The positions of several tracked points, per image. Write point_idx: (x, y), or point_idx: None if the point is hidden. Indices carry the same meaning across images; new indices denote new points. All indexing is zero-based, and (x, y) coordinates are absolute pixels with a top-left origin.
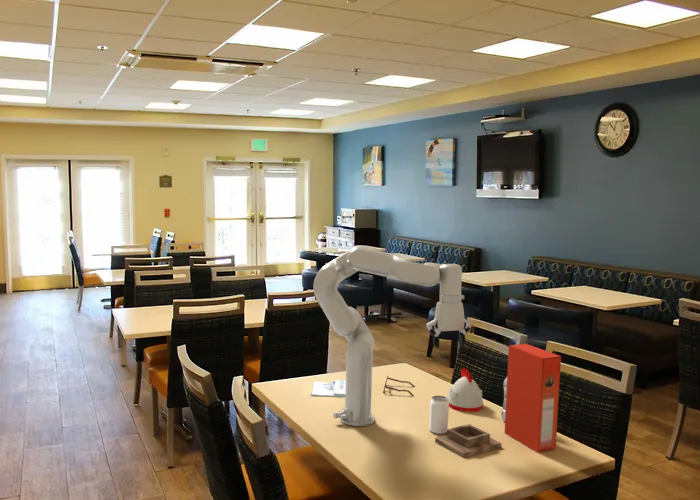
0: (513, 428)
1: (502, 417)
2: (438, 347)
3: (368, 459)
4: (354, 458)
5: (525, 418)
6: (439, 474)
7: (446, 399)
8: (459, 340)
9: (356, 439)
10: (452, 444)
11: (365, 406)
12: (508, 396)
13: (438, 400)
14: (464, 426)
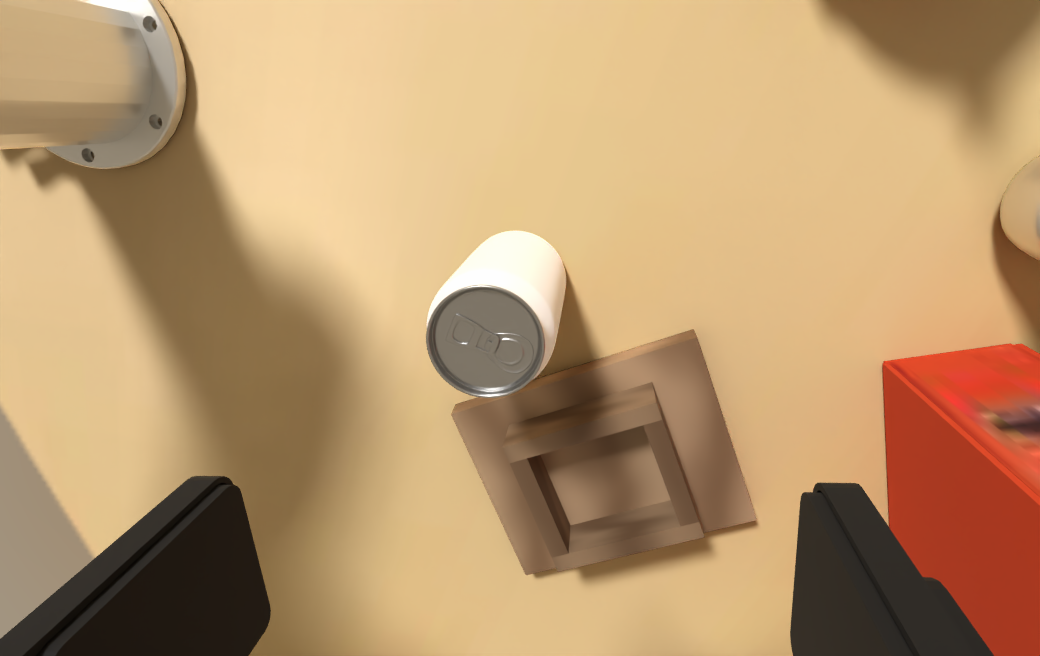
0: (908, 457)
1: (1005, 206)
2: (260, 620)
3: (151, 504)
4: (100, 487)
5: (961, 607)
6: (389, 648)
7: (534, 354)
8: (834, 599)
9: (100, 319)
10: (508, 494)
11: (46, 142)
12: (1019, 512)
13: (466, 367)
14: (613, 428)
